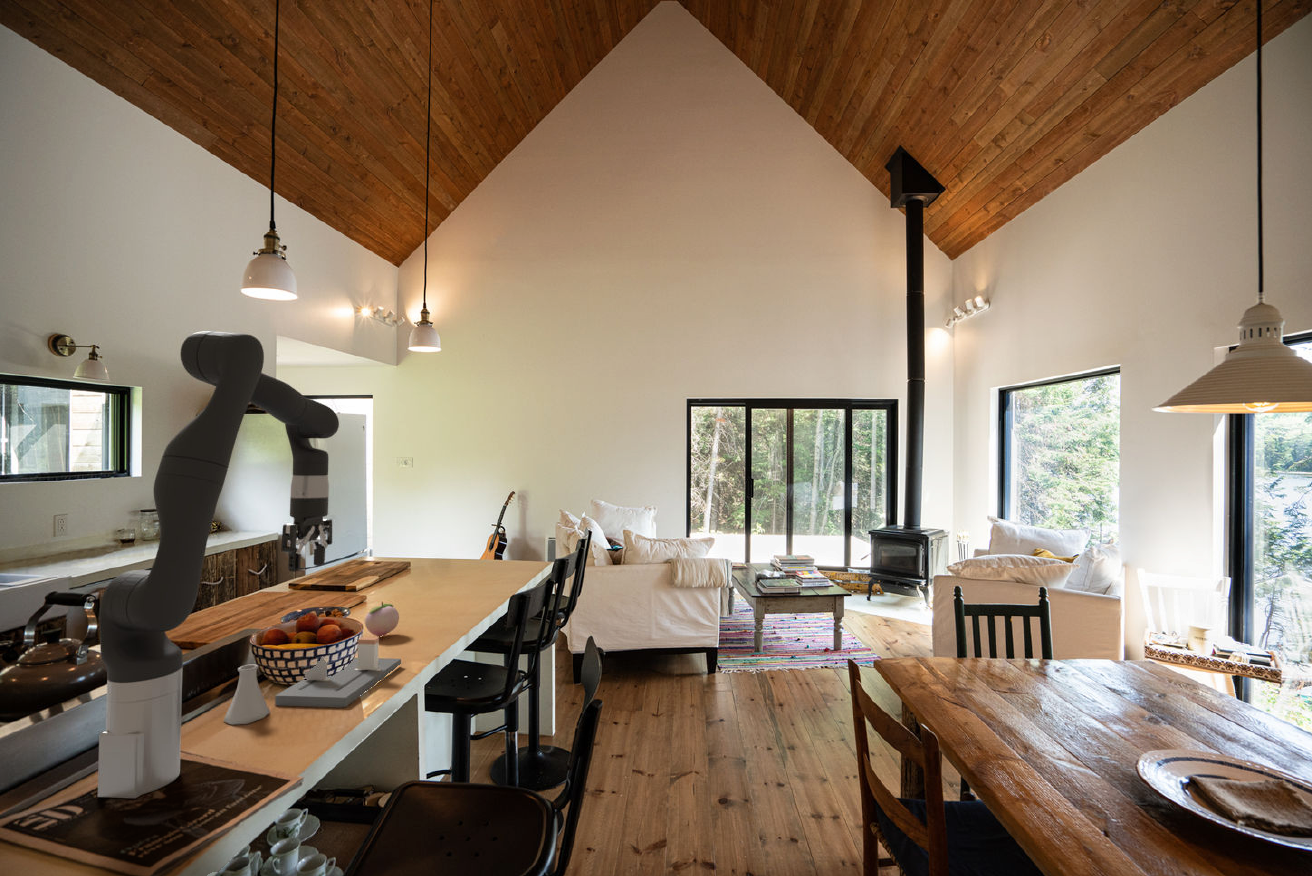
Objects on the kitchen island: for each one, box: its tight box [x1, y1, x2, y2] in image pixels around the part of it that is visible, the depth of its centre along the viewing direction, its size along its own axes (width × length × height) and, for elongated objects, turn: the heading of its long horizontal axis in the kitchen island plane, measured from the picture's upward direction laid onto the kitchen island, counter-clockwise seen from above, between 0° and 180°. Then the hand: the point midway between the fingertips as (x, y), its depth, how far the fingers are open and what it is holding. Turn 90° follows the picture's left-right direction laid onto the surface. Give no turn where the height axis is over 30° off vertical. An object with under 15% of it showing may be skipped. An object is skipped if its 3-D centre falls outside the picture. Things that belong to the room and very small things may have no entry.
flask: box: [223, 663, 271, 725], centre depth 121 cm, size 7×7×10 cm
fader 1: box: [304, 656, 328, 680], centre depth 136 cm, size 2×4×7 cm, turn 87°
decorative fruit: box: [364, 601, 400, 637], centre depth 174 cm, size 9×8×10 cm
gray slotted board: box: [274, 657, 402, 708], centre depth 139 cm, size 24×15×2 cm, turn 176°
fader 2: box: [356, 636, 380, 670], centre depth 142 cm, size 2×4×7 cm, turn 86°
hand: (307, 568), depth 138 cm, fingers open, 8 cm apart
